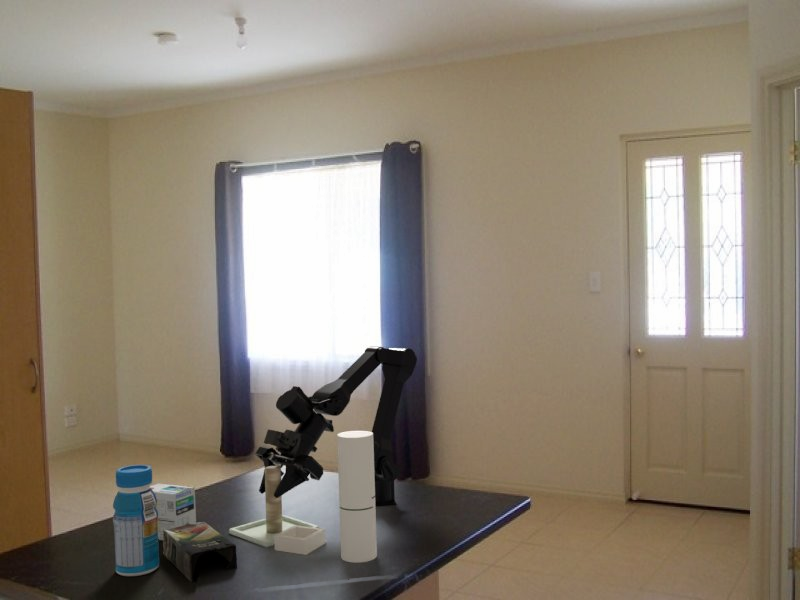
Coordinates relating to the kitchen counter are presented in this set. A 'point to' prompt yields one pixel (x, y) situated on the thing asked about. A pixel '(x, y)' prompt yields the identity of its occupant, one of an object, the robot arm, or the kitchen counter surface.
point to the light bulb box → (174, 506)
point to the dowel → (273, 500)
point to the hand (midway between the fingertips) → (267, 494)
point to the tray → (258, 530)
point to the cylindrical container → (357, 496)
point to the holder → (300, 539)
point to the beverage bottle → (135, 522)
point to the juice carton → (195, 546)
